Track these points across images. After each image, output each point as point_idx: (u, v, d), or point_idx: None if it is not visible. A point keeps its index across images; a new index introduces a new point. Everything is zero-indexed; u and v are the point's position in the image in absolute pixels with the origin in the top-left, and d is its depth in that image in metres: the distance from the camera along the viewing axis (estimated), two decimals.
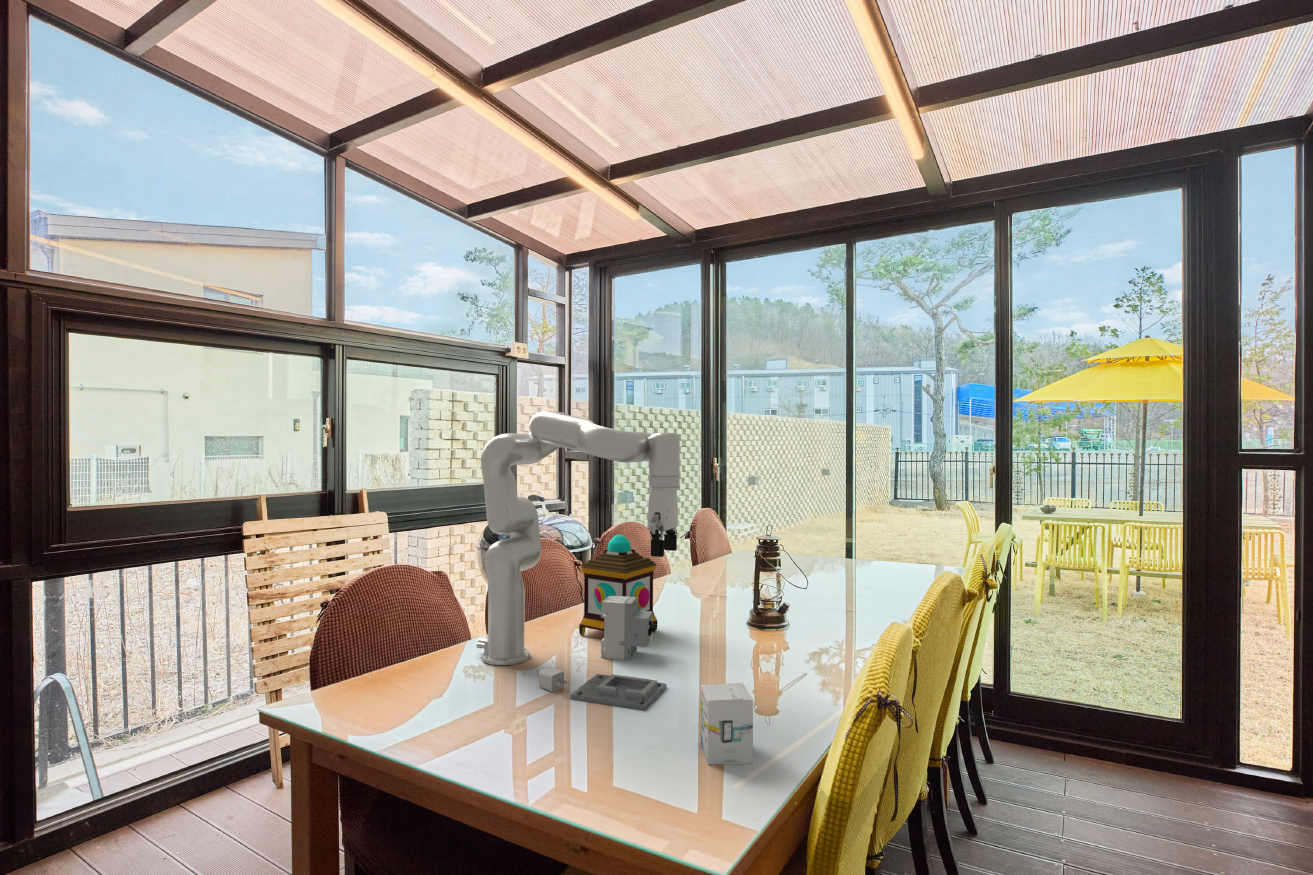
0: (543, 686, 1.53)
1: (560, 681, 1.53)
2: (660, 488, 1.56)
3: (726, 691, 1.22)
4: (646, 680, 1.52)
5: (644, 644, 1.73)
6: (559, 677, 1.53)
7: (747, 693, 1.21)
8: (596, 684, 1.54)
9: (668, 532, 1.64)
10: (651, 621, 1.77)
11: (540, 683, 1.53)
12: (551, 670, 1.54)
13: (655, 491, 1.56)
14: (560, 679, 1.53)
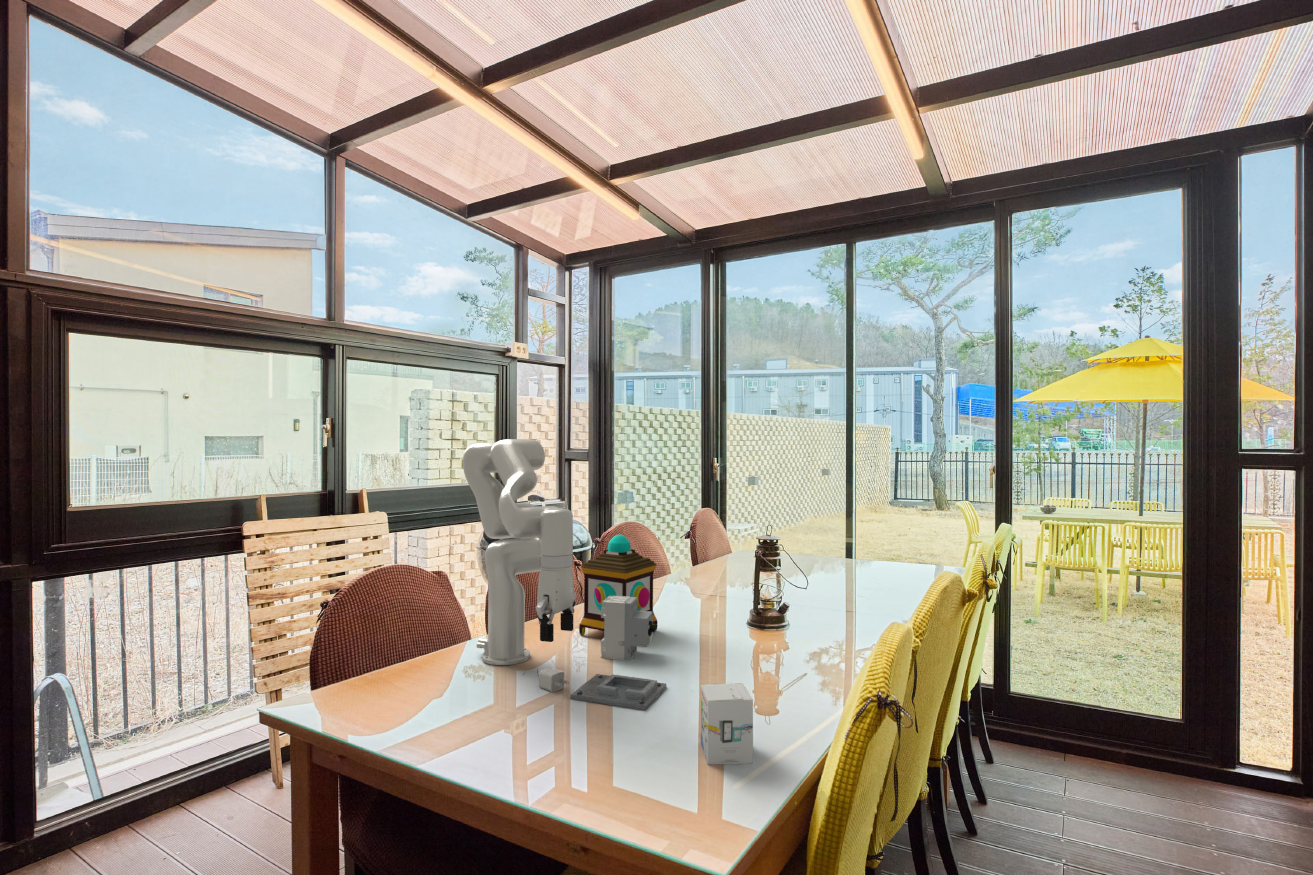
0: (543, 686, 1.53)
1: (560, 681, 1.53)
2: (550, 568, 1.50)
3: (726, 691, 1.22)
4: (646, 680, 1.52)
5: (644, 644, 1.73)
6: (559, 677, 1.53)
7: (747, 693, 1.21)
8: (596, 684, 1.54)
9: (564, 611, 1.57)
10: (651, 621, 1.77)
11: (540, 683, 1.53)
12: (551, 670, 1.54)
13: (544, 572, 1.49)
14: (560, 679, 1.53)
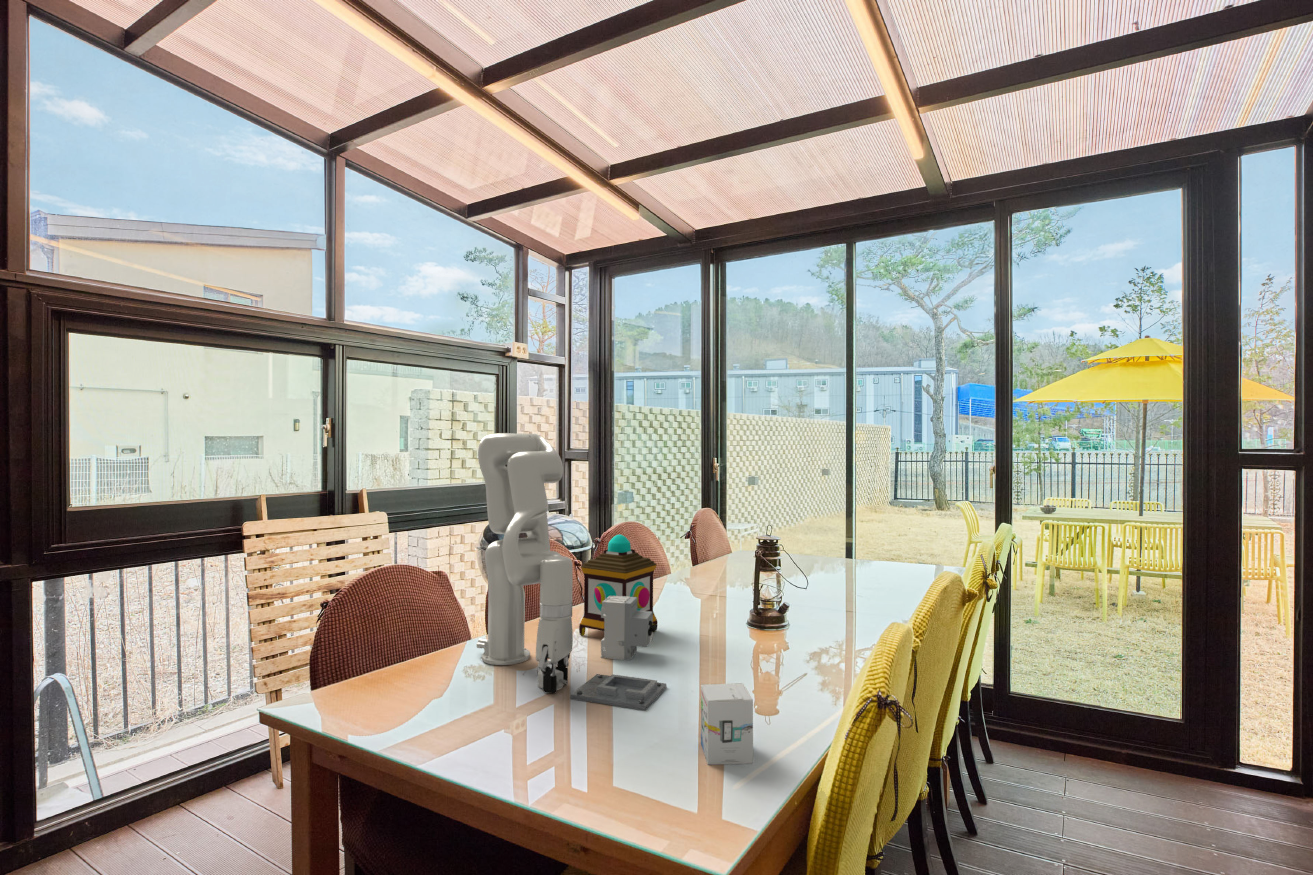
0: (542, 686, 1.53)
1: (559, 681, 1.53)
2: (549, 618, 1.50)
3: (725, 691, 1.22)
4: (646, 680, 1.52)
5: (644, 644, 1.73)
6: (558, 677, 1.53)
7: (747, 693, 1.21)
8: (596, 684, 1.54)
9: (559, 663, 1.56)
10: (651, 621, 1.77)
11: (539, 683, 1.53)
12: None
13: (544, 622, 1.49)
14: (559, 679, 1.53)
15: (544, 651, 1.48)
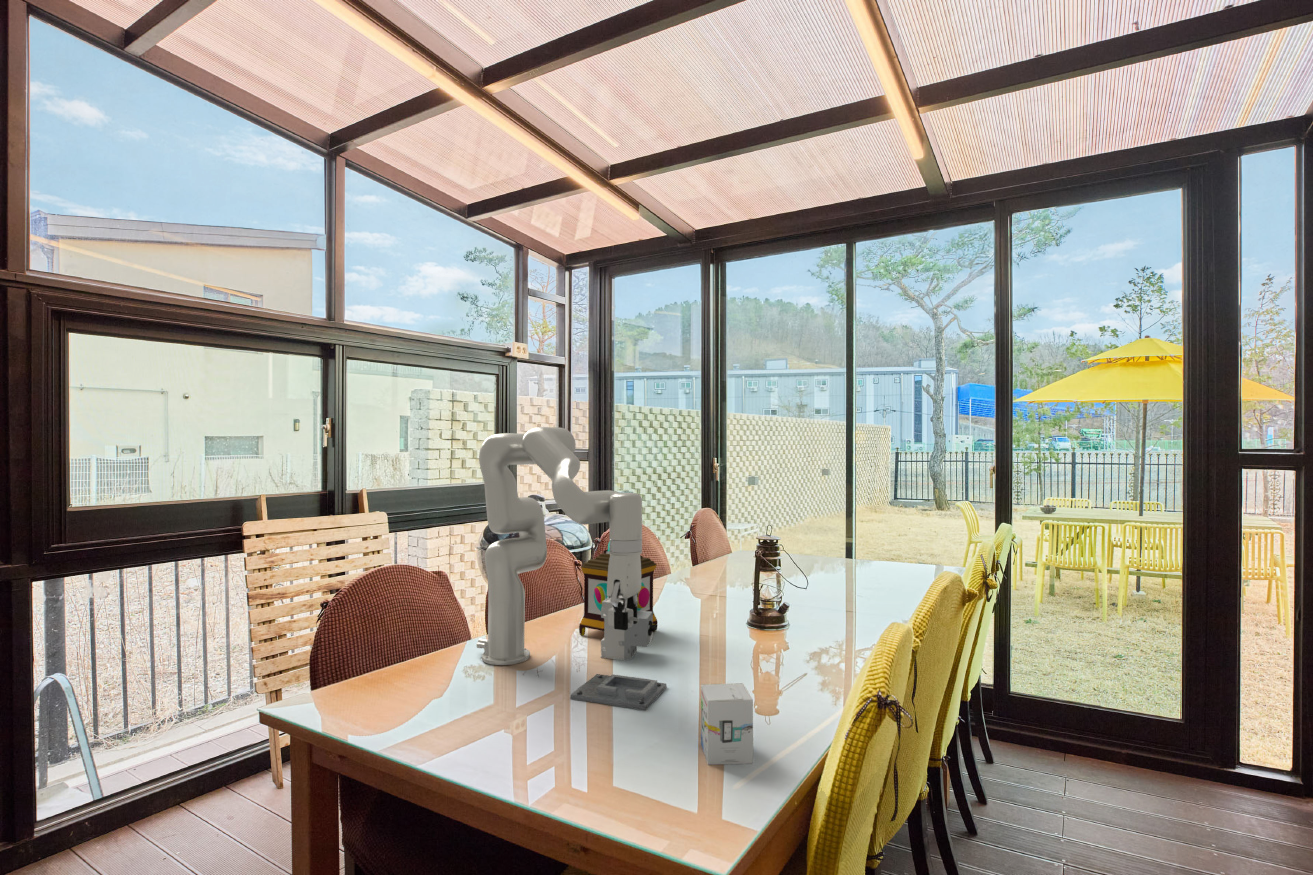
0: (612, 624, 1.50)
1: (629, 619, 1.50)
2: (620, 553, 1.47)
3: (725, 691, 1.22)
4: (646, 680, 1.52)
5: (644, 644, 1.73)
6: (629, 615, 1.50)
7: (747, 693, 1.21)
8: (596, 684, 1.54)
9: (628, 602, 1.53)
10: (651, 621, 1.77)
11: (609, 621, 1.50)
12: None
13: (615, 557, 1.46)
14: (629, 616, 1.50)
15: (616, 586, 1.45)
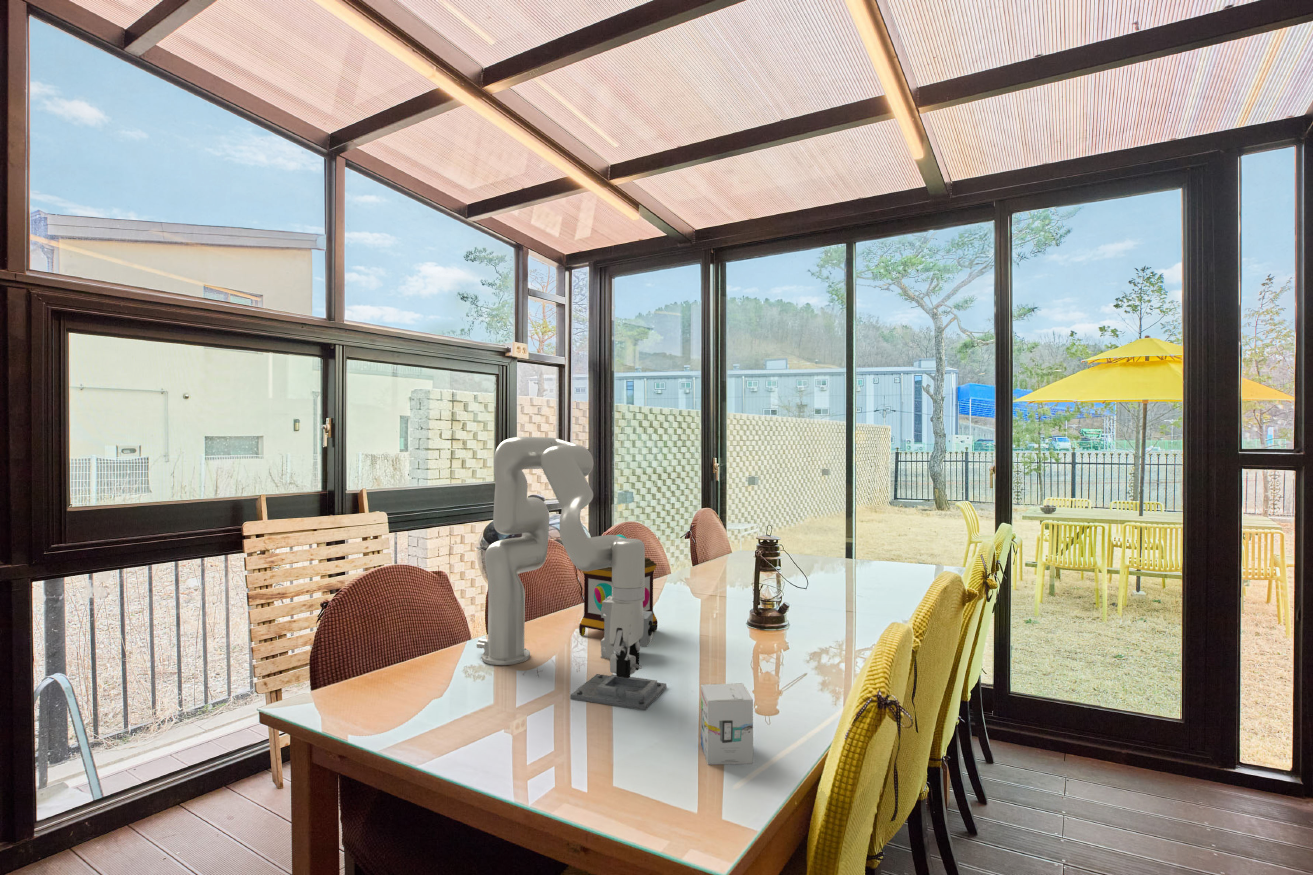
0: (615, 671, 1.50)
1: (632, 665, 1.50)
2: (623, 601, 1.47)
3: (726, 691, 1.22)
4: (646, 680, 1.52)
5: (644, 644, 1.73)
6: (631, 662, 1.50)
7: (747, 693, 1.21)
8: (596, 684, 1.54)
9: (630, 648, 1.53)
10: (651, 621, 1.77)
11: (611, 668, 1.50)
12: None
13: (617, 605, 1.46)
14: (632, 663, 1.50)
15: (619, 635, 1.45)
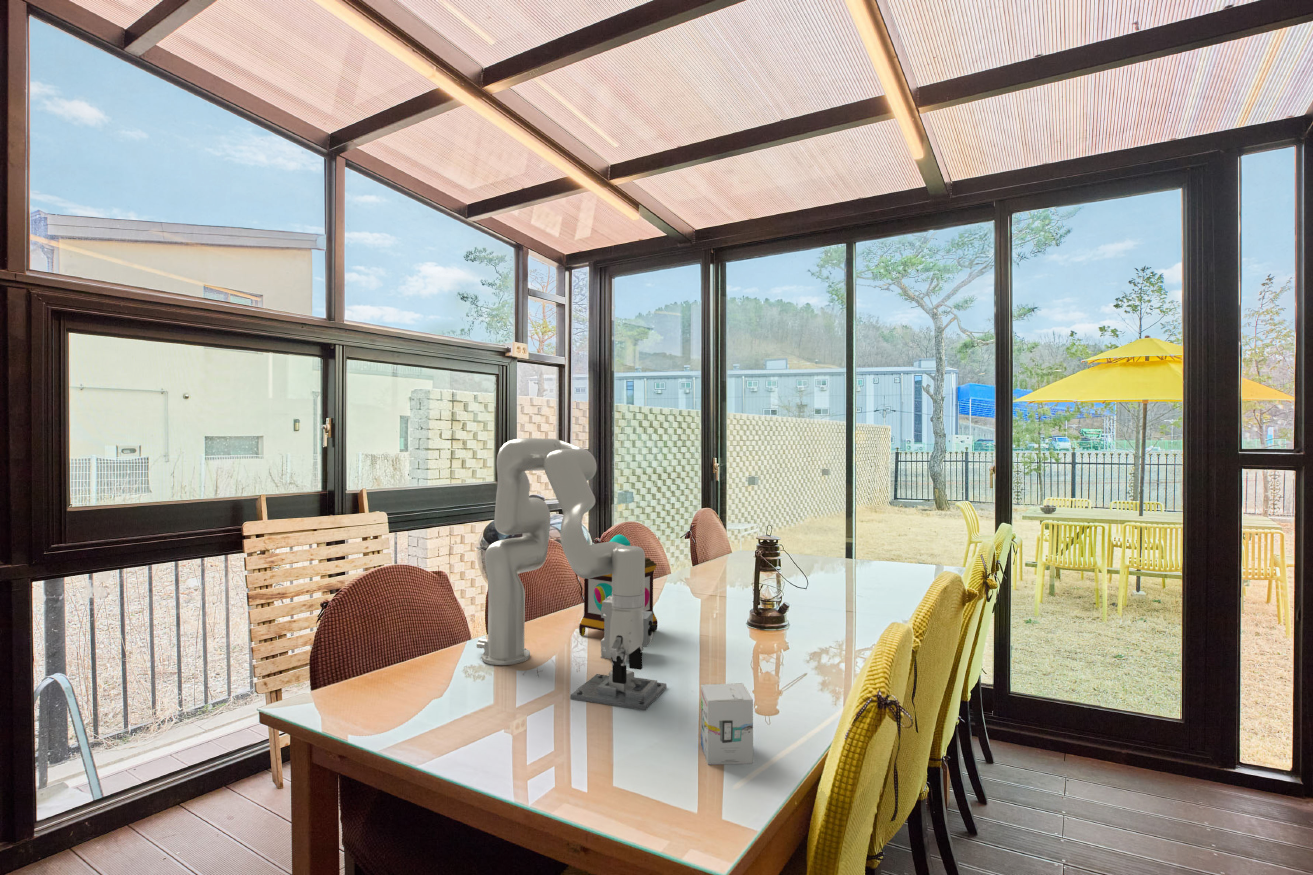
0: None
1: (631, 681, 1.50)
2: (623, 609, 1.47)
3: (726, 691, 1.22)
4: (646, 680, 1.52)
5: (644, 644, 1.73)
6: (630, 677, 1.50)
7: (747, 693, 1.21)
8: (596, 684, 1.54)
9: None
10: (651, 621, 1.77)
11: (610, 684, 1.50)
12: None
13: (617, 612, 1.46)
14: (631, 679, 1.50)
15: None
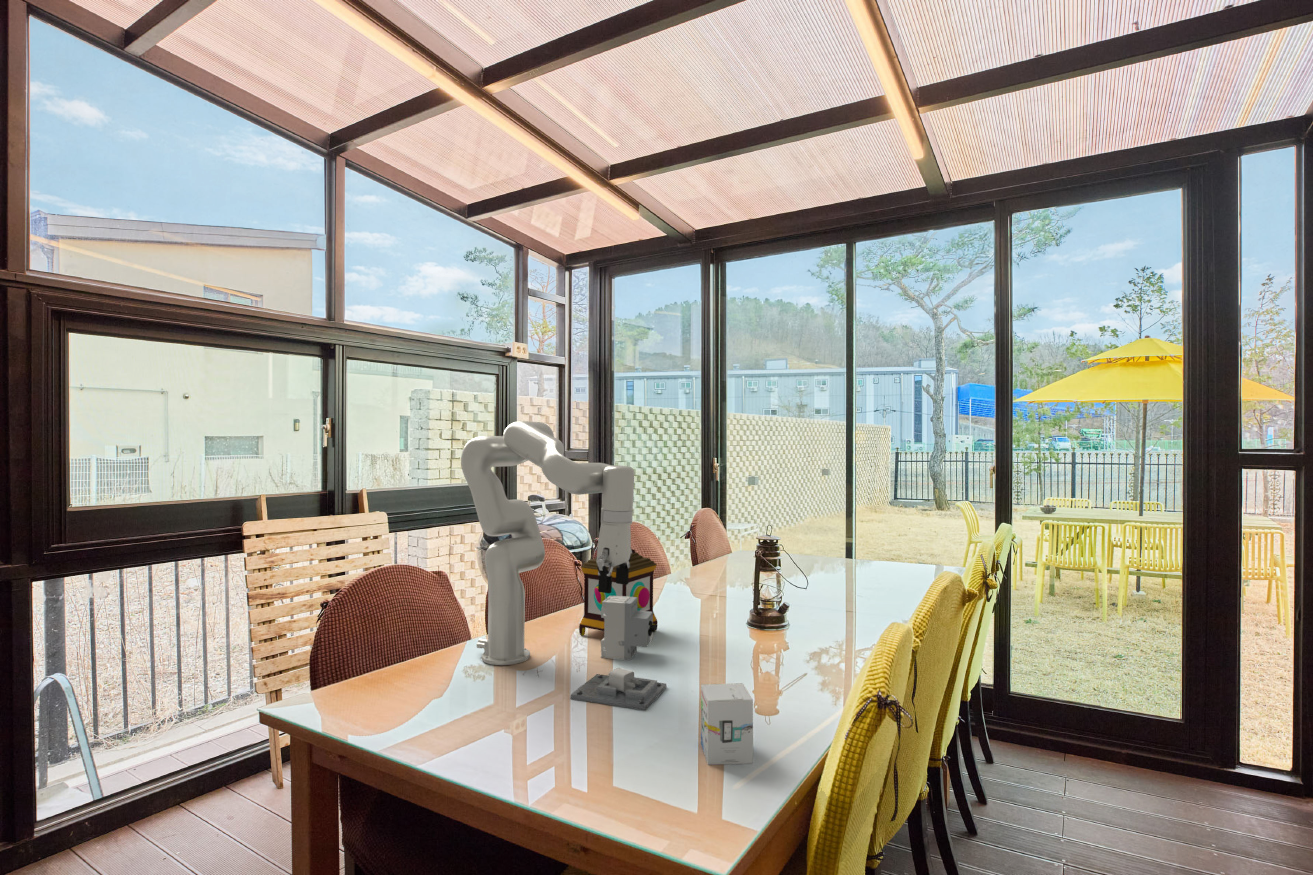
0: None
1: (631, 681, 1.50)
2: (611, 523, 1.54)
3: (725, 691, 1.22)
4: (646, 680, 1.52)
5: (644, 644, 1.73)
6: (630, 677, 1.50)
7: (747, 693, 1.21)
8: (596, 684, 1.54)
9: (620, 565, 1.62)
10: (651, 621, 1.77)
11: (610, 684, 1.50)
12: (621, 670, 1.51)
13: (605, 526, 1.53)
14: (631, 679, 1.50)
15: None
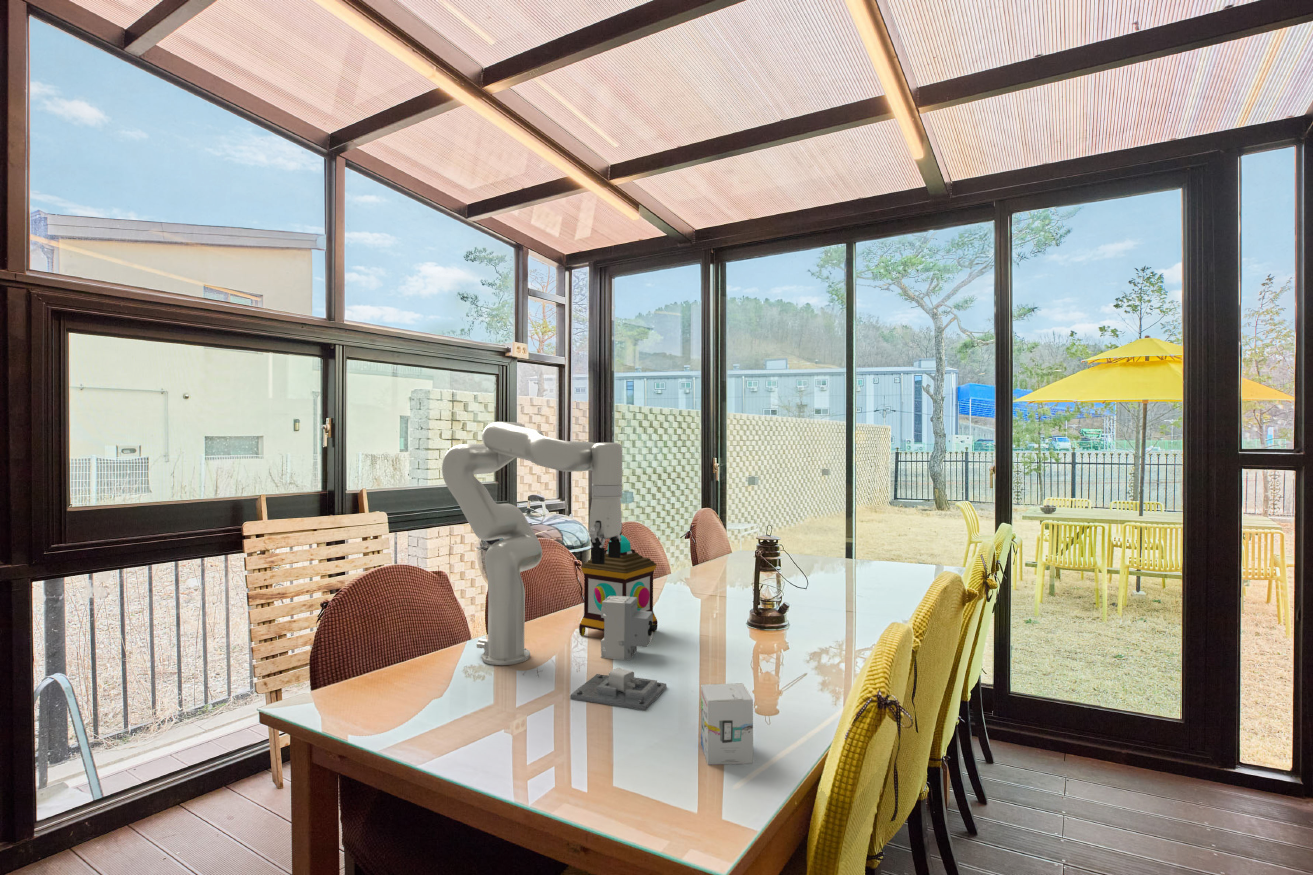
0: (613, 686, 1.50)
1: (631, 681, 1.50)
2: (601, 497, 1.60)
3: (725, 691, 1.22)
4: (646, 680, 1.52)
5: (644, 644, 1.73)
6: (630, 677, 1.50)
7: (747, 693, 1.21)
8: (596, 684, 1.54)
9: (612, 540, 1.68)
10: (651, 621, 1.77)
11: (610, 684, 1.50)
12: (620, 670, 1.51)
13: (596, 500, 1.59)
14: (630, 679, 1.50)
15: None
